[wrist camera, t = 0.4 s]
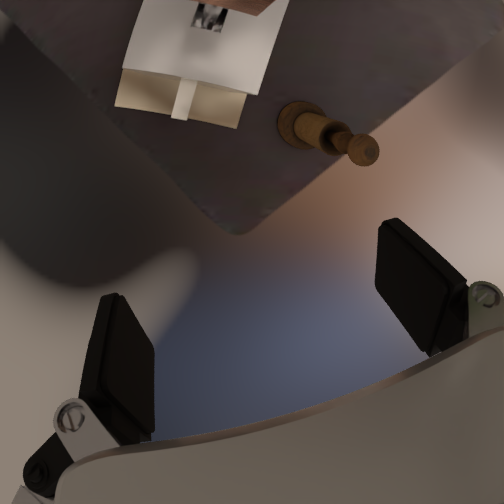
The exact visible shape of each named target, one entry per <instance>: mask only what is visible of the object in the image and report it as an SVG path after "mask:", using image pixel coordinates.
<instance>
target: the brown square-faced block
mask: <svg viewBox="0 0 504 504" xmlns="http://www.w3.org/2000/svg"><path fill="white" fill-rule="evenodd" d="M191 1H196V2H201V3H206V4H200V3H199V5H198V8H197V11H196V13H195V16H194V19H193V22H192V25H191V27H196V28H201V29H206V30H210V31H215V32H219V33H220V31H221V29H222V26H223V23H224V20H225V17H226V14H227V12H228V10H226V9H223V8H227V9H231V10H235V11H239V12H242V13H246V14H249V15H253V16H256V17H257V16H258V15H259V14H260V13H261V12H263V11H264V10H265V9H266V8H267V7H268V6H270V5H271V4H272V3H273V2H274V1H276V0H191Z"/></svg>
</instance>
